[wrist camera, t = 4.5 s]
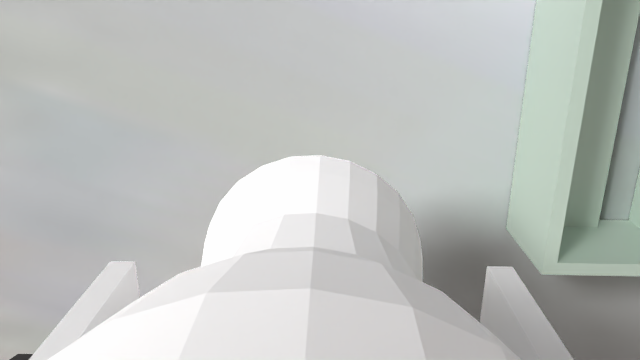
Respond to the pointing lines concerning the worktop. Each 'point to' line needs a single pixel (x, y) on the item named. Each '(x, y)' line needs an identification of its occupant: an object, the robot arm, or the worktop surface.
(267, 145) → the worktop surface
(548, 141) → the dish rack
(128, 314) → the cup
